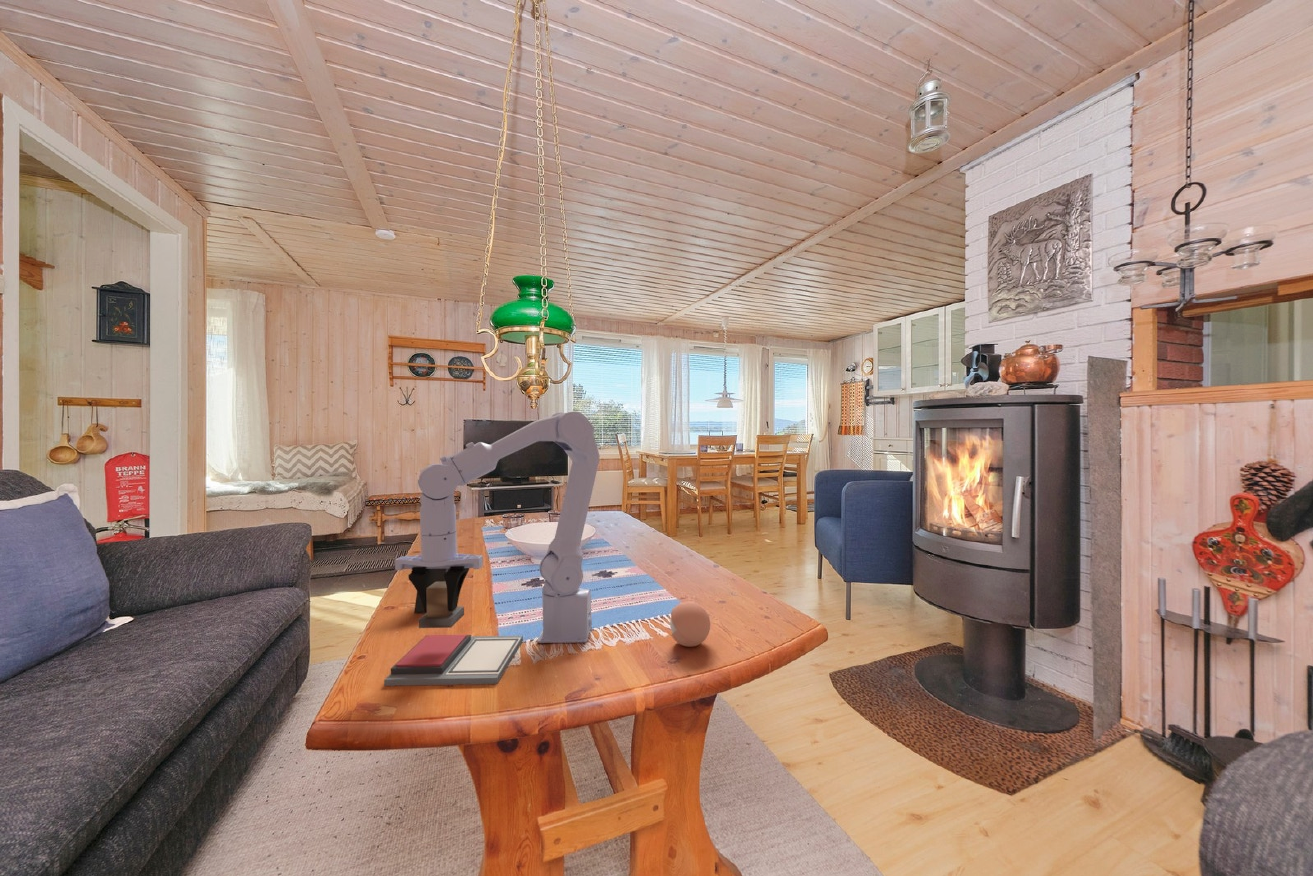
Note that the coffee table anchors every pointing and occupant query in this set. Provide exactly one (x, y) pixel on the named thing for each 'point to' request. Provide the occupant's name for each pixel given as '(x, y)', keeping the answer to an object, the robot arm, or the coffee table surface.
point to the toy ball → (689, 624)
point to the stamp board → (455, 660)
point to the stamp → (439, 608)
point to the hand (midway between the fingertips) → (440, 609)
